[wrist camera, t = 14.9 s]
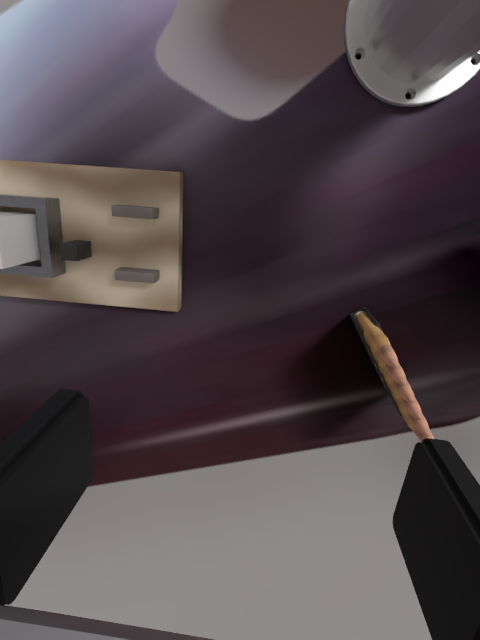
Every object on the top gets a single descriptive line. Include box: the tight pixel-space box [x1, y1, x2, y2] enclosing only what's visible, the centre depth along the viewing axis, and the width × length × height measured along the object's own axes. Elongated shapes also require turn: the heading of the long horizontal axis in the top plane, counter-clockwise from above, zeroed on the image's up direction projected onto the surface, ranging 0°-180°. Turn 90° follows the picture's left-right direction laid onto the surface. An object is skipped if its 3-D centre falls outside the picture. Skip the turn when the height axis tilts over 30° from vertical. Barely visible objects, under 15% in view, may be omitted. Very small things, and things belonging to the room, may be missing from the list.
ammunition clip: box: [350, 307, 434, 442], centre depth 35 cm, size 11×2×12 cm, turn 29°
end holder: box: [0, 194, 66, 278], centre depth 37 cm, size 8×8×2 cm
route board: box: [0, 160, 183, 312], centre depth 37 cm, size 14×20×4 cm
